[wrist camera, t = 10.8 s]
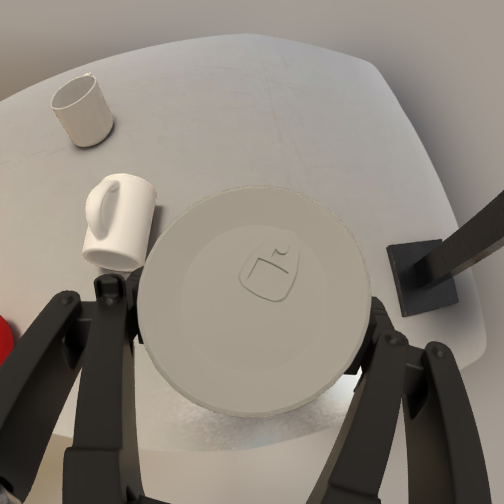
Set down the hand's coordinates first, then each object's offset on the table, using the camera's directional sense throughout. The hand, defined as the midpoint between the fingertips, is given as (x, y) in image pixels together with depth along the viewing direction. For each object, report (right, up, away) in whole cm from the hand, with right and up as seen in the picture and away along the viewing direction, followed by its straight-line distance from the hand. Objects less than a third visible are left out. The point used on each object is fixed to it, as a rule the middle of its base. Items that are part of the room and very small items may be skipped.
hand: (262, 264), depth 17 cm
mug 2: (-18, +3, +24) cm, 29 cm away
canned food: (0, -5, +3) cm, 5 cm away
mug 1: (-30, +25, +32) cm, 51 cm away
